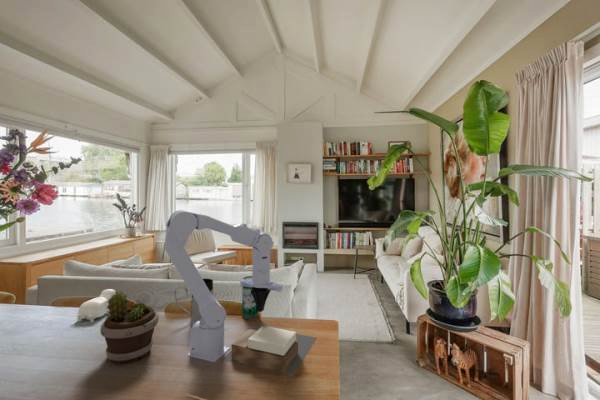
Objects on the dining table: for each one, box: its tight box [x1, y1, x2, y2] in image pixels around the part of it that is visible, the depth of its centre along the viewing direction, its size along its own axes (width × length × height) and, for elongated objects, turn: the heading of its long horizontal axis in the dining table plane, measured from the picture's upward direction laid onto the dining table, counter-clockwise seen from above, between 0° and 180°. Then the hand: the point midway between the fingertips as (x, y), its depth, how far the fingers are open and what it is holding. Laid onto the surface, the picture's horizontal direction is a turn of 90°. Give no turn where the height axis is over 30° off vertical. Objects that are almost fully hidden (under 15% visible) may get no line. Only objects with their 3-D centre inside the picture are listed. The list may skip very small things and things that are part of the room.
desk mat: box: [221, 326, 317, 378], centre depth 86 cm, size 22×22×1 cm
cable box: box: [231, 328, 298, 373], centre depth 81 cm, size 16×10×5 cm, turn 70°
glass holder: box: [174, 278, 214, 326], centre depth 105 cm, size 9×14×15 cm, turn 103°
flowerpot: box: [99, 289, 159, 364], centre depth 82 cm, size 14×15×20 cm
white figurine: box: [75, 288, 116, 323], centre depth 109 cm, size 9×8×15 cm
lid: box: [248, 325, 297, 356], centre depth 80 cm, size 11×9×3 cm
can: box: [241, 275, 259, 320], centre depth 110 cm, size 6×6×15 cm
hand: (260, 310), depth 91 cm, fingers closed
